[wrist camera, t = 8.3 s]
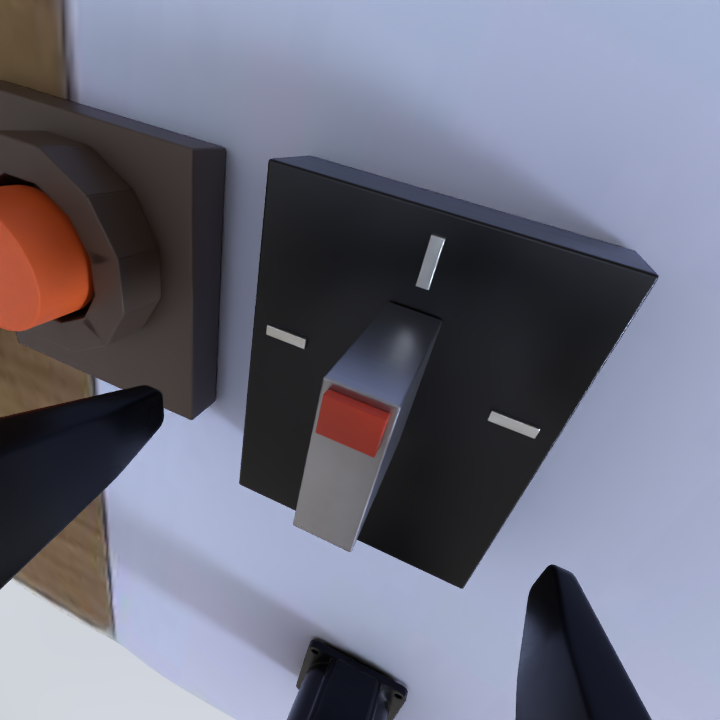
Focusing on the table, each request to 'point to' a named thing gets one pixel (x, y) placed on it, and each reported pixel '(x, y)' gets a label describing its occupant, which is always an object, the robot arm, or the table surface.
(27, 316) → the button
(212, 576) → the table surface
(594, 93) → the table surface
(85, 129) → the brown button base
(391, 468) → the hob panel
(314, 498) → the burner knob
